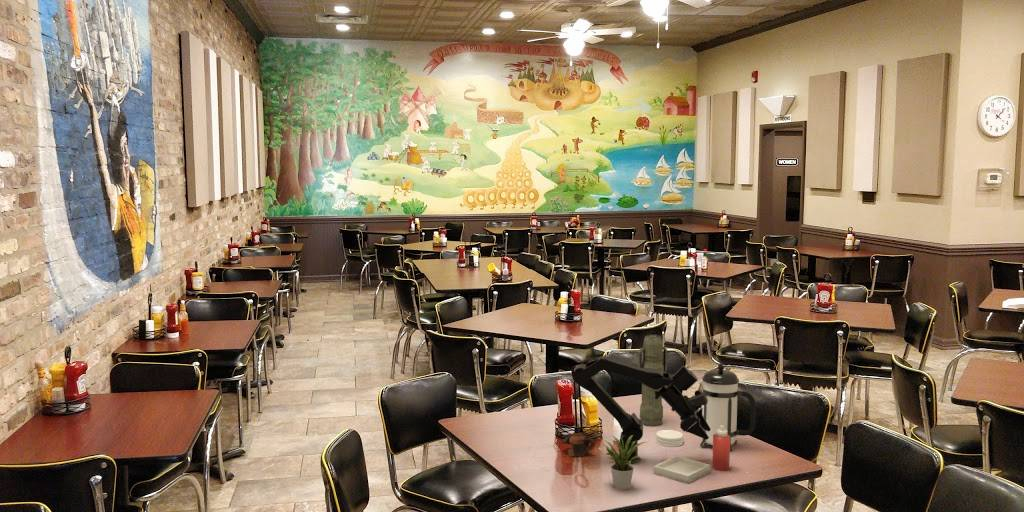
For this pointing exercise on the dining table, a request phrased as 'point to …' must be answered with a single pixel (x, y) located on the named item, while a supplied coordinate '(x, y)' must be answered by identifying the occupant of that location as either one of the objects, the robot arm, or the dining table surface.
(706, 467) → the tray
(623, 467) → the house plant
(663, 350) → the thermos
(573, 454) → the pottery mug
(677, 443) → the cream round disc
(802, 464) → the dining table surface
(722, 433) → the squeeze bottle
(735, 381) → the coffee press
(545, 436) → the dining table surface
